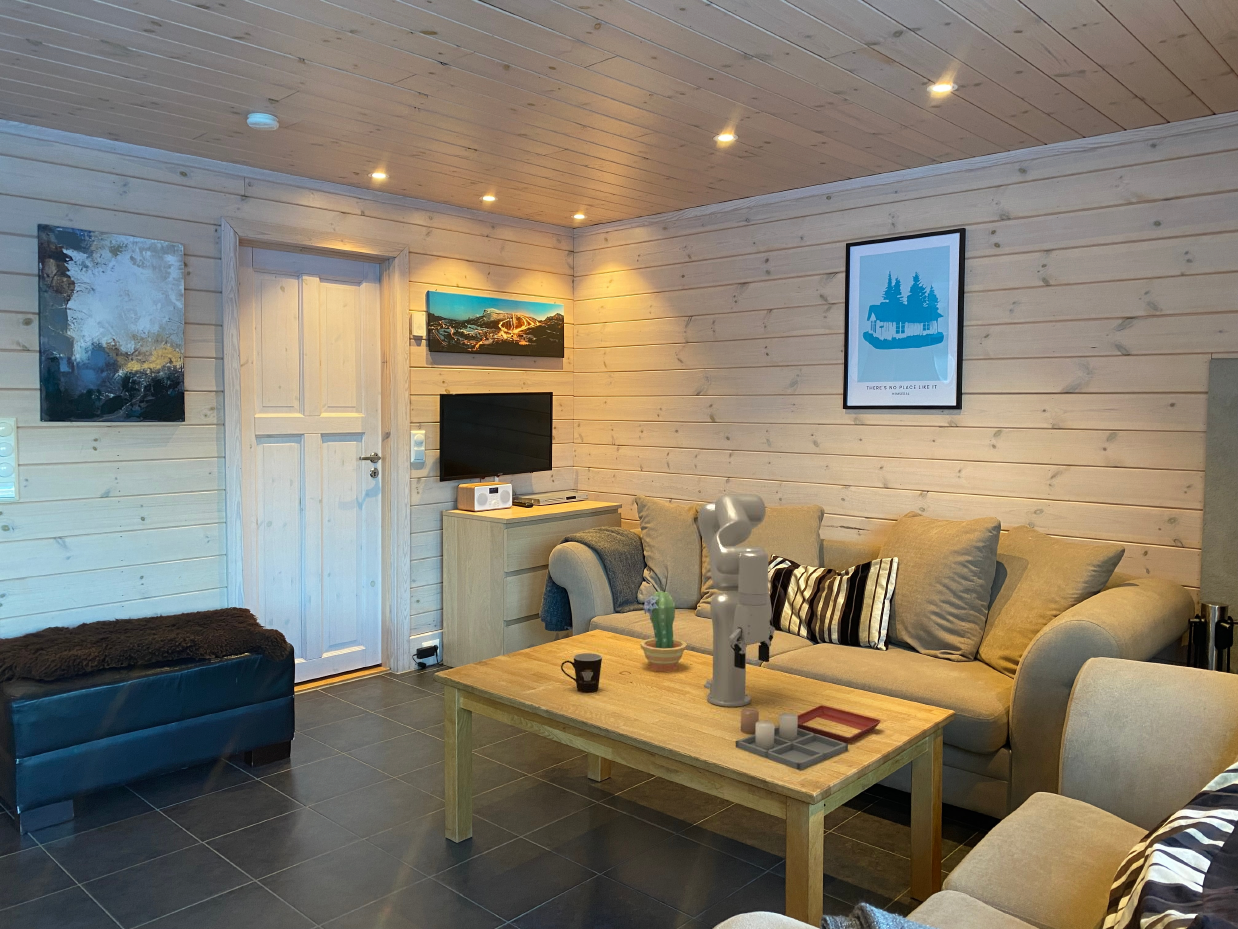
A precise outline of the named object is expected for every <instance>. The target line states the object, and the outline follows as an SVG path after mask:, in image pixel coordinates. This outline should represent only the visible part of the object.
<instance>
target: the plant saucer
mask: <svg viewBox="0 0 1238 929" xmlns="http://www.w3.org/2000/svg"><path fill="white" fill-rule="evenodd" d="M797 716H798V726H797V728H799V729H802V730H805V731H808V732H811V733H815V734H818V735H821V736H824V737H827V738H830V739H833V740H837V741H840V742H843V743H846V744H848V743H851V742H852V741H854V740H856V739H858V738H859V737H862V736H863V735H865V734H867V733H868V732H869V733H871V732H873V731H874V730H875V729H876V728H877V727H878V726H879V724H880V723H881V722H882V720H881V719H878V718H874V717H870V716H867V715H864V714H858V713H855V712H850V711H846V710H842V709H840V708H835V707H831V706H827V705H822V704H820V705H818V706H816V707H814V708H812V709H809V710H807V711H805V712H802V713H800V714H798V715H797ZM817 718H820V719H821V720H822V719H823V720H824V721H825V720H826V721H829V722H832V723H835V724H839V725H842V726H846V727H847V728H848V727H849V728H852V729H856V730H859V731H857V732H856V733H854V734H852V735H850V736H846V735H843V734H839V733H835V732H832V731H828V730H825V729H822V728H818V727H814V726H810V725H807V723H809V722H811V721H813V720H815V719H817ZM870 731H871V732H870Z"/></svg>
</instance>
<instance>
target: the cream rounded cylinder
mask: <svg viewBox="0 0 1238 929" xmlns="http://www.w3.org/2000/svg"><path fill="white" fill-rule="evenodd" d="M778 716H779V717H778V726H779V738H781V739H784V740H787V741H790V742H792V741H795V740H797V726H798V715H797V714H795V713H792V712H782V713H779V715H778Z"/></svg>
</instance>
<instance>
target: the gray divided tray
mask: <svg viewBox="0 0 1238 929" xmlns="http://www.w3.org/2000/svg"><path fill="white" fill-rule="evenodd" d="M735 748H737V749H739V750H743V751H745V752H748V753H750V754H753V755H756V756H759V757H761V758H764V759H768V760H770V761H772V762H775V763H778V764H781V765H784V766H787V767H789V768H792V769H795V770H797V771H801V770H804V769H807V768H809V767H811V766H813V765H816V764H818V763H820V762H823V761H826V760H828V759H830V758H833V757H836V756H837V755H840V754H842V753H845V752H847V751H849V744H848V743H846V742H842V741H838V740H834V739H831V738H827V737H824V736H821V735H818V734H815V733H811V732H808V731H805V730H802V729H799V728H797V740H795V741H792V742H790V741H787V740H784V739H781V738H779V725H777V726H775V727H774V748H773V749H771V750H768V751H767V750H764V749H761V748H758V747H755V734H751V735H748V736H747V737H744V738H740V739H738V740H735Z"/></svg>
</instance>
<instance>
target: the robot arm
mask: <svg viewBox="0 0 1238 929" xmlns="http://www.w3.org/2000/svg"><path fill="white" fill-rule="evenodd" d="M766 509H767V508H766V504H765V501H764V499H763V498H762V497H761V496H760V495H758V494H756V493H744V494H743V493H727V494H724V495H721V496H720V497H719V498H717V500H716V501H714V502H708V503H704V504H702V506H700V508H699V510H698V513H697V520H698V521H697V522H698V529H699V532H700V535H701V537H702V540H703V541H704V544H705V546H706V549H707V554H708V561H709V567H710V568H709V569H710V574H711V575H710V576H711V581H712V586H713V587H714V588H715V590H716V591H718V592H720V593H717V594H715V595H714V596H712V598H711V600H710V606H709V608H710V614H711V615H710V616H711V623H712V679H707V680H706V681H705V683H704V684H703V687H704V688H705V689H709V693H708V694H707V695H706V700H707V702H708V703H710V704H713V705H716V706H720V707H734V708H735V707H736V708H737V707H742V706H743V707H744V706H746V705H749V703H751V695H749V694H747V693H746V678H747V676H746V674H747V672H746V670H747V669H746V668H747V667H746V666H747V647H748V646H751V645H755V644H758V643H759V644H758V653H757V654H758V655H757V656H758V658H757V659H758V661H760V662H765V663H769V662H770V647H771V646H772V641H773V638H774V634H775V631H776V628H775V627H774V626H772V625H771V620H772V614H773V613H772V611H773V610H772V609H773V608H772V604H771V603H772V602H771V595H770V591H769V590H770V589H769V555H768V552H767V551H766V550H765V549H764V548H763V547H762V546H757V545H756V546H751V545H750V546H749V545H747V546H746V545H740V544H742V543H744V542H746V541H747V540H748V539H749V538H750V537H751V534H752V532H753V530H754V529H755V528H757V527H758V526H759V525H760V524H762V523H763V521H764V519H765V517H766V513H767V512H766Z"/></svg>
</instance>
